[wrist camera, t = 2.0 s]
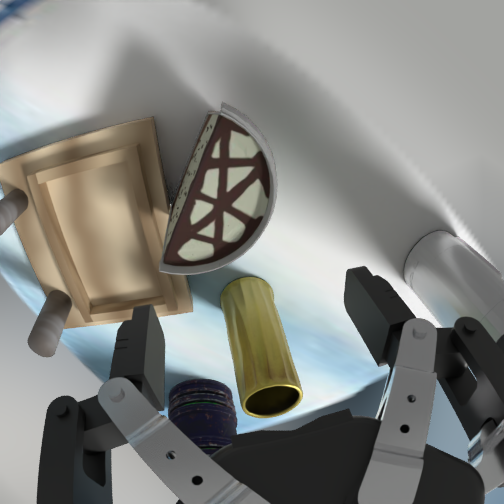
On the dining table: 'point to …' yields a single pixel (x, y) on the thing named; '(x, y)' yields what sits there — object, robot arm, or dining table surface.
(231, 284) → the vase
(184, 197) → the half lattice cake
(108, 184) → the carrier board
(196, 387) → the storage jar
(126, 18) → the dining table surface
